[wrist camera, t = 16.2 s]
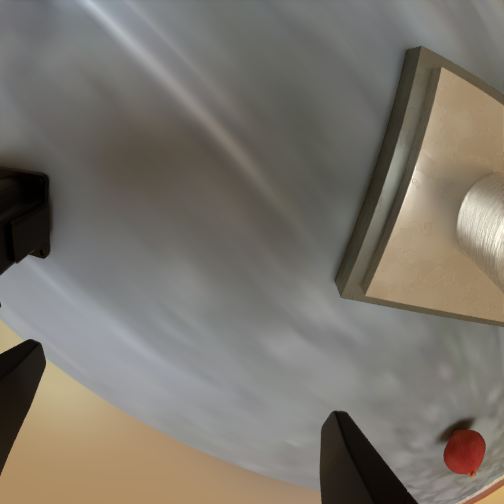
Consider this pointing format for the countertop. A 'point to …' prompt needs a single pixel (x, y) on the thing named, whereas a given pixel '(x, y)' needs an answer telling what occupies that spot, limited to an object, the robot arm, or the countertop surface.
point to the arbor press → (428, 196)
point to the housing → (484, 227)
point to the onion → (464, 452)
